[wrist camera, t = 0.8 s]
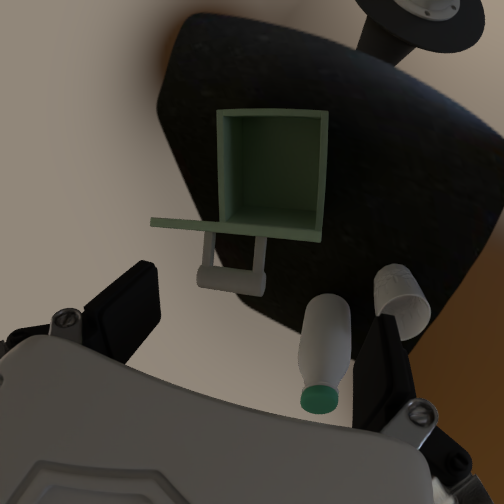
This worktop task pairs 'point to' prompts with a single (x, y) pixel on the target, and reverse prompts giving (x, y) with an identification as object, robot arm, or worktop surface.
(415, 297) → the white cup
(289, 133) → the chest
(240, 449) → the robot arm
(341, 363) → the milk bottle
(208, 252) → the lid
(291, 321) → the worktop surface
